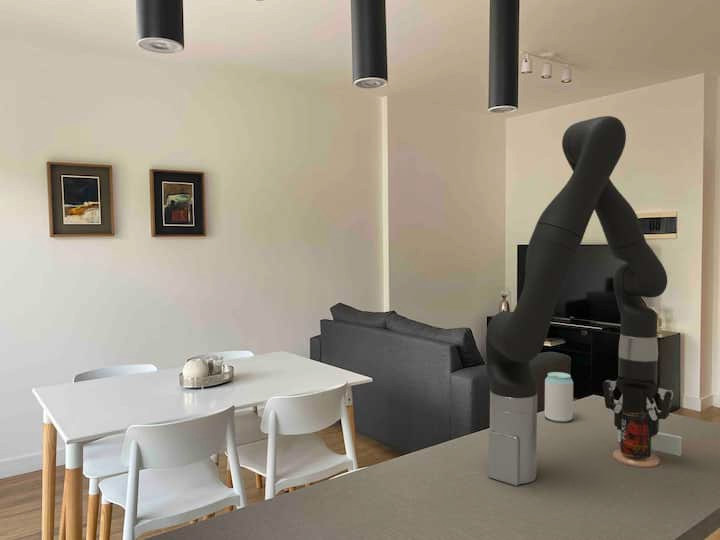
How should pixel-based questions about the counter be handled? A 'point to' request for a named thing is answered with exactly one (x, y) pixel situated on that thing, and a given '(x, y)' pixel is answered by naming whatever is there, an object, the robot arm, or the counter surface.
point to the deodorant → (635, 422)
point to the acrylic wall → (664, 443)
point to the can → (558, 397)
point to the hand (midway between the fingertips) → (636, 432)
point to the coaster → (636, 460)
